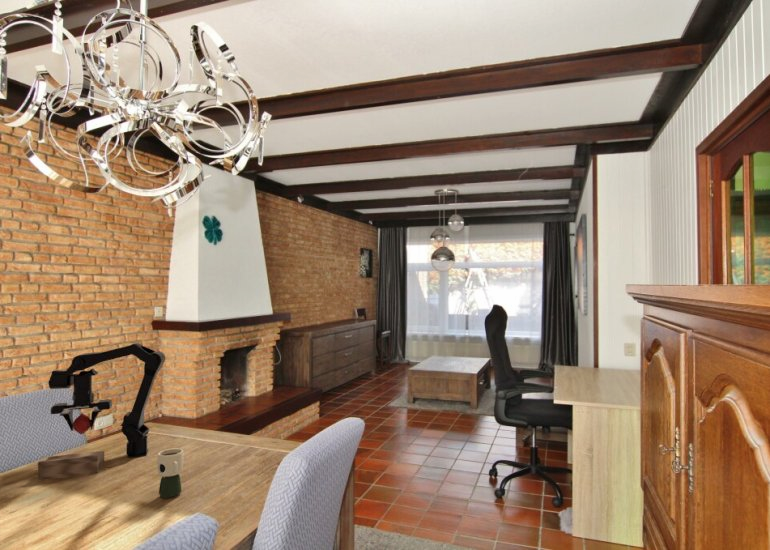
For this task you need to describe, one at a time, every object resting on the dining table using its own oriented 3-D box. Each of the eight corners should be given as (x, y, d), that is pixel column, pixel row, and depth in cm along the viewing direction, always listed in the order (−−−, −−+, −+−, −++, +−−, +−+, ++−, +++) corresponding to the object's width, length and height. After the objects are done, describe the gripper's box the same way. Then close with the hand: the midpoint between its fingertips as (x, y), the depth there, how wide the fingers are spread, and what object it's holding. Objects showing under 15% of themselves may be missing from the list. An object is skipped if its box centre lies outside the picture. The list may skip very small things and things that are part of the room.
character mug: (152, 493, 143) (152, 450, 144) (176, 486, 148) (177, 445, 149) (162, 505, 135) (163, 459, 136) (188, 497, 140) (188, 453, 140)
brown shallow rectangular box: (104, 461, 171) (104, 444, 171) (97, 473, 160) (97, 455, 160) (48, 468, 165) (49, 451, 165) (37, 480, 154) (37, 462, 154)
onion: (94, 432, 177) (95, 410, 178) (83, 436, 172) (83, 414, 172) (80, 431, 178) (80, 410, 178) (68, 436, 172) (69, 414, 173)
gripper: (114, 382, 186) (114, 421, 186) (59, 385, 180) (58, 426, 179) (109, 387, 176) (109, 429, 175) (50, 391, 169) (49, 435, 169)
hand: (82, 429), depth 175 cm, fingers closed on onion, 6 cm apart
